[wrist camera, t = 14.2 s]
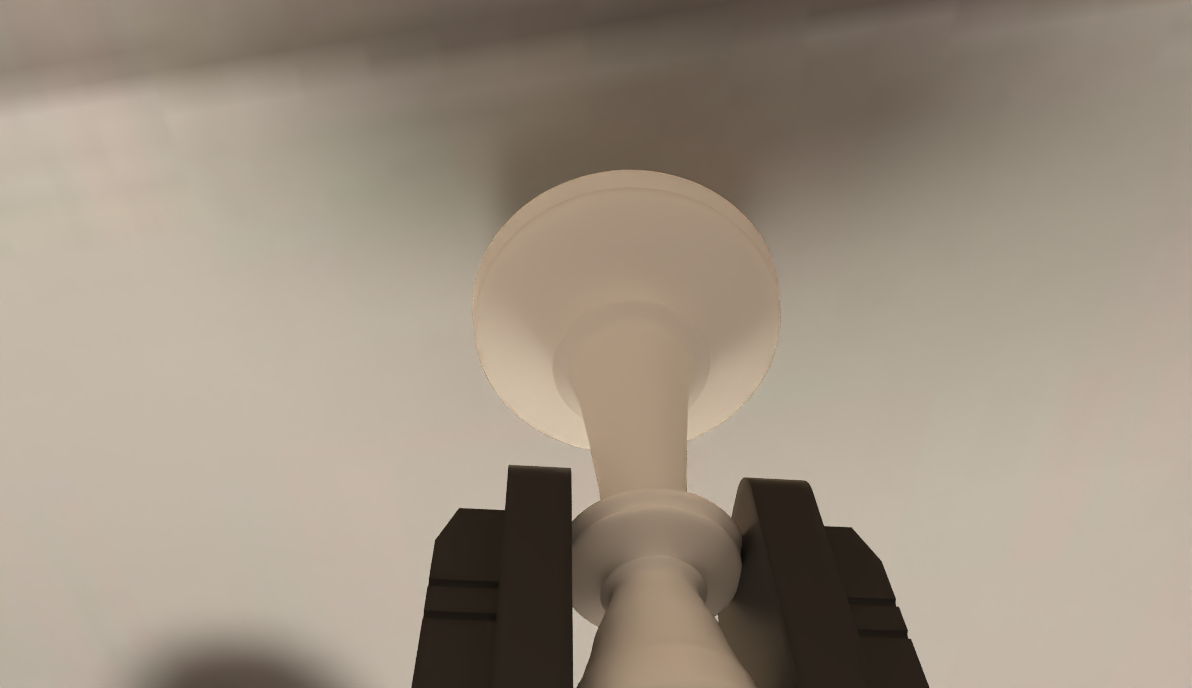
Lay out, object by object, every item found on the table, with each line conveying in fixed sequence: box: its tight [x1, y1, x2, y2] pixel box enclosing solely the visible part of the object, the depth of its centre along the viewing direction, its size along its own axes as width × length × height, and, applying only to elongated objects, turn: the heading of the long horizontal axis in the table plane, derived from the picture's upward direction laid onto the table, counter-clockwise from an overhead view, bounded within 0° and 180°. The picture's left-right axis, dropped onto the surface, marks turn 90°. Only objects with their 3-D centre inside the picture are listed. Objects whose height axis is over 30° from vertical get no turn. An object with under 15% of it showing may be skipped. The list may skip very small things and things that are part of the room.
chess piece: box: [472, 170, 781, 688], centre depth 11 cm, size 5×5×10 cm
